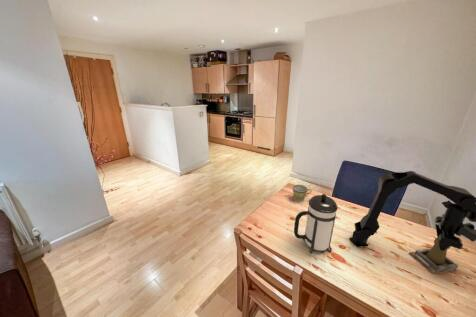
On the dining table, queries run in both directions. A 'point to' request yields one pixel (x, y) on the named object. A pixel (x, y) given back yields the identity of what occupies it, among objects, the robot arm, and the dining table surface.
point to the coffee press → (318, 222)
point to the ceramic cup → (300, 192)
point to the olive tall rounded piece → (437, 253)
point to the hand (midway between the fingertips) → (440, 246)
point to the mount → (429, 265)
